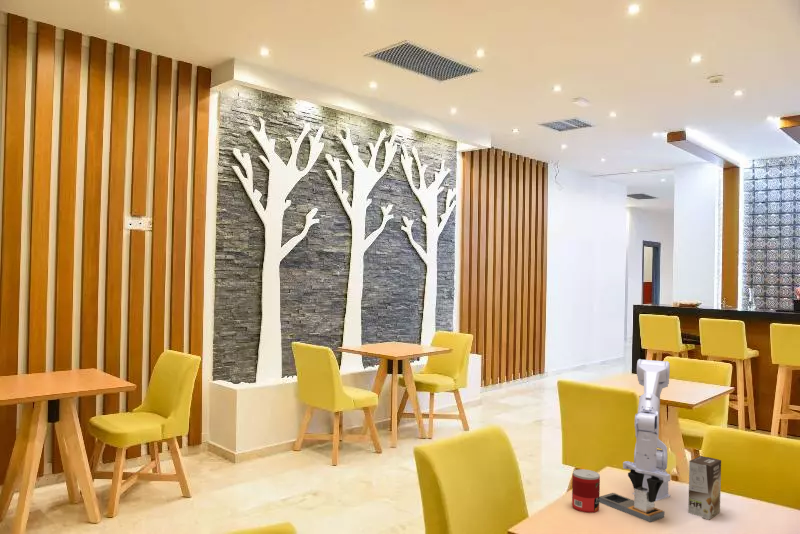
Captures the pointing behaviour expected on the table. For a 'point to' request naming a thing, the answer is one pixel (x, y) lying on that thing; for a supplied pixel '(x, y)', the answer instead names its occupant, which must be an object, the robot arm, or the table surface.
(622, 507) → the rail
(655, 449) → the robot arm
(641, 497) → the silver square slider
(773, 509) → the table surface
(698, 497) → the coffee box
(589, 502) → the canned food
